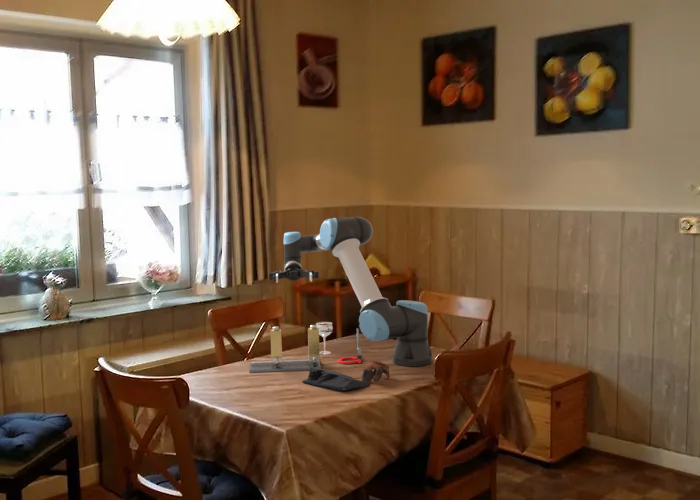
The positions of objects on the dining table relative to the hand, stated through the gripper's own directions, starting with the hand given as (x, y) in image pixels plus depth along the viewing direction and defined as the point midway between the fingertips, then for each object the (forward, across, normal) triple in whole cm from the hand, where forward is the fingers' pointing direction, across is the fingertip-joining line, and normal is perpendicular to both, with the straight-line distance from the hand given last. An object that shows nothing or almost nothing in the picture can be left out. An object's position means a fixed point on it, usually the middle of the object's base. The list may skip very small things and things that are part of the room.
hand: (294, 278), depth 301 cm
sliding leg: (+22, +8, -28) cm, 36 cm away
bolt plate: (+21, +5, -30) cm, 37 cm away
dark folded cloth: (+45, -13, -31) cm, 56 cm away
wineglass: (+3, -11, -30) cm, 32 cm away
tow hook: (+17, -20, -30) cm, 40 cm away
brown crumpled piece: (+44, -27, -30) cm, 60 cm away
